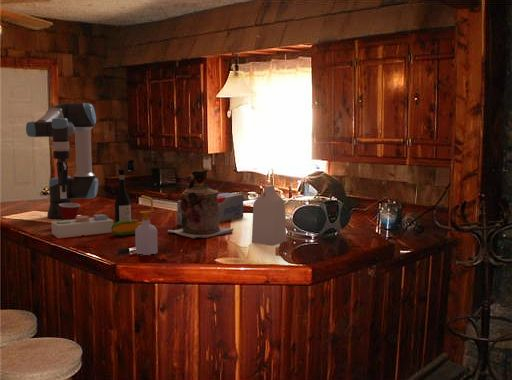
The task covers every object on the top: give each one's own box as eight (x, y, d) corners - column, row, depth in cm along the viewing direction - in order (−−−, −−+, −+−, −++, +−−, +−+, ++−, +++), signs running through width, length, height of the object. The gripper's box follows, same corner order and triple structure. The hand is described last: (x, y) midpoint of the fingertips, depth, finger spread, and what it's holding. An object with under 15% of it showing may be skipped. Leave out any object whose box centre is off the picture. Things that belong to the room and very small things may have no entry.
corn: (108, 219, 273) (145, 215, 286) (108, 235, 275) (145, 230, 287) (114, 223, 268) (152, 218, 280) (114, 238, 269) (152, 233, 282)
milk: (273, 245, 253) (273, 188, 249) (251, 242, 259) (251, 186, 255) (286, 241, 263) (286, 185, 259) (265, 238, 269) (265, 183, 265)
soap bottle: (137, 251, 243) (135, 194, 239) (158, 250, 243) (157, 194, 240) (134, 256, 234) (132, 197, 231) (156, 255, 234) (155, 196, 231)
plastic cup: (74, 228, 290) (73, 205, 289) (55, 228, 293) (54, 205, 291) (85, 225, 301) (84, 202, 299) (66, 224, 303) (65, 202, 302)
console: (51, 233, 279) (51, 220, 278) (105, 227, 293) (105, 215, 292) (58, 238, 268) (57, 225, 267) (113, 232, 282) (113, 219, 281)
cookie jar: (204, 226, 298) (203, 165, 294) (235, 233, 281) (235, 168, 277) (165, 233, 281) (164, 168, 277) (196, 240, 264) (195, 172, 260)
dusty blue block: (94, 224, 286) (93, 215, 285) (104, 223, 288) (103, 214, 288) (97, 226, 281) (96, 216, 281) (107, 225, 284) (107, 215, 283)
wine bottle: (134, 225, 299) (132, 169, 295) (121, 228, 293) (119, 170, 289) (125, 223, 304) (123, 168, 300) (112, 226, 298) (110, 169, 295)
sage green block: (57, 230, 276) (57, 220, 276) (68, 229, 279) (67, 219, 278) (60, 232, 272) (59, 222, 271) (71, 231, 275) (70, 221, 274)
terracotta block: (76, 226, 281) (75, 216, 280) (86, 225, 284) (86, 215, 283) (78, 228, 277) (78, 218, 276) (89, 227, 279) (89, 217, 279)
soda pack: (227, 215, 333) (227, 191, 331) (244, 217, 325) (244, 193, 323) (176, 225, 302) (175, 199, 300) (193, 228, 294) (192, 201, 292)
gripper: (50, 149, 277) (52, 197, 280) (56, 151, 266) (58, 201, 269) (65, 149, 281) (67, 196, 284) (72, 150, 270) (74, 199, 273)
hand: (63, 198), depth 277 cm, fingers closed
